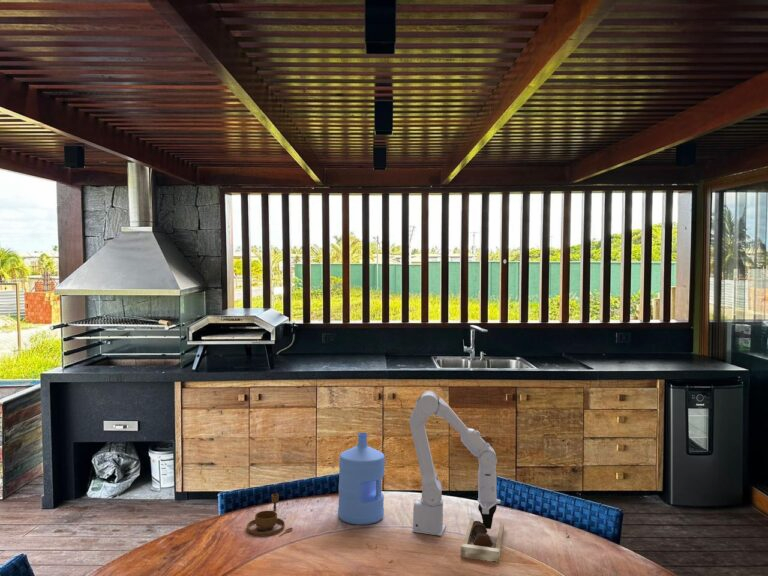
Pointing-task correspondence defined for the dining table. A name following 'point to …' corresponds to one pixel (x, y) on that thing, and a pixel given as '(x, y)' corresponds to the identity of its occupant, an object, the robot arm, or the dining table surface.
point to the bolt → (481, 535)
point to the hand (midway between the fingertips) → (487, 528)
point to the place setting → (268, 521)
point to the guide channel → (481, 551)
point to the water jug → (361, 484)
